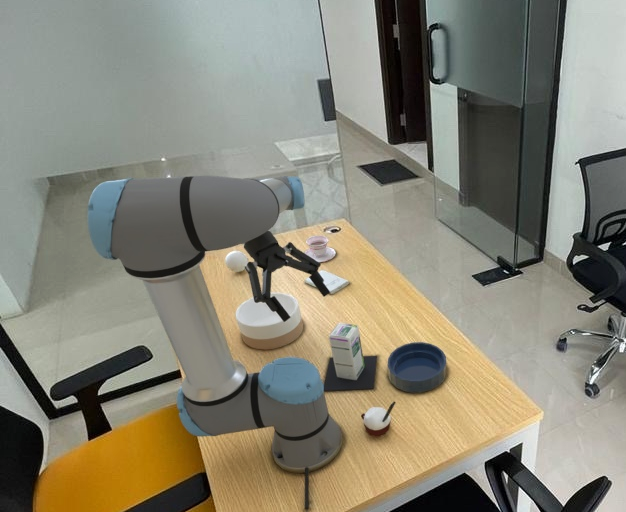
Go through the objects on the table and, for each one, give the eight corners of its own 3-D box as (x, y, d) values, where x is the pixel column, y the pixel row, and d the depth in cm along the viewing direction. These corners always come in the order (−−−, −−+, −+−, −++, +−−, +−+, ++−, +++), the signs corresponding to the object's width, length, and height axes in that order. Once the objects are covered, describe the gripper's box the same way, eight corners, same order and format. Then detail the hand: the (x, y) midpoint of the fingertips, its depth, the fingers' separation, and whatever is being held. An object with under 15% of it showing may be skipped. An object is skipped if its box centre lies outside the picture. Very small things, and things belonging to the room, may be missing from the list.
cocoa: (358, 426, 120) (352, 390, 113) (380, 413, 123) (376, 378, 116) (378, 451, 114) (373, 415, 107) (401, 437, 117) (398, 402, 110)
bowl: (263, 310, 156) (256, 288, 152) (313, 318, 154) (309, 296, 149) (230, 344, 143) (222, 321, 138) (285, 354, 140) (278, 330, 135)
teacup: (342, 255, 186) (340, 240, 183) (313, 266, 179) (310, 251, 175) (324, 244, 193) (322, 230, 189) (296, 254, 186) (293, 240, 182)
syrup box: (356, 381, 132) (350, 338, 123) (336, 377, 133) (327, 334, 124) (365, 366, 136) (359, 325, 128) (345, 363, 137) (337, 321, 129)
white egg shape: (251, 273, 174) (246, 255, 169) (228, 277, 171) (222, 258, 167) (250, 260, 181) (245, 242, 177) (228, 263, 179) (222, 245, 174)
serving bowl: (447, 392, 130) (447, 379, 127) (387, 394, 128) (385, 382, 126) (445, 353, 143) (445, 341, 140) (390, 355, 141) (389, 343, 138)
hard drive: (323, 273, 176) (349, 284, 171) (305, 283, 170) (331, 294, 165) (322, 269, 175) (348, 280, 170) (304, 279, 169) (330, 290, 164)
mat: (373, 389, 130) (373, 388, 130) (322, 391, 129) (322, 390, 129) (377, 356, 140) (376, 355, 140) (330, 358, 139) (329, 357, 139)
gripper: (216, 251, 113) (274, 326, 116) (299, 213, 130) (348, 280, 134) (206, 264, 118) (263, 336, 121) (288, 226, 136) (335, 290, 139)
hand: (308, 306), depth 127 cm, fingers open, 13 cm apart
